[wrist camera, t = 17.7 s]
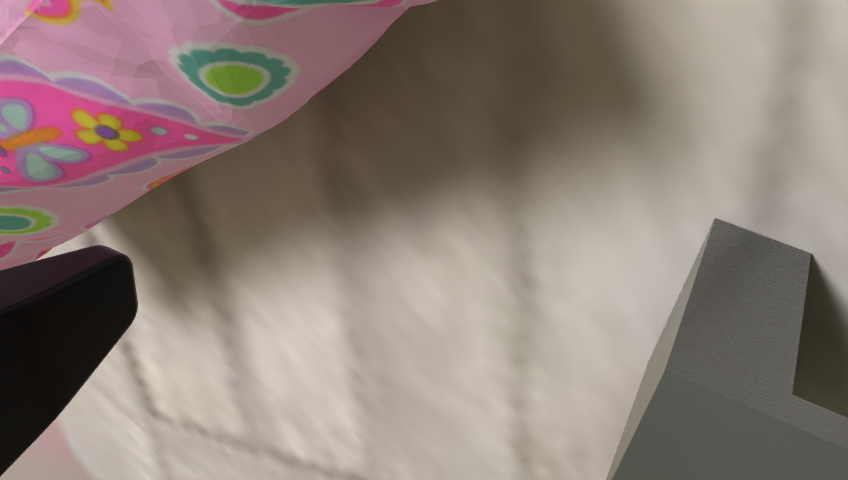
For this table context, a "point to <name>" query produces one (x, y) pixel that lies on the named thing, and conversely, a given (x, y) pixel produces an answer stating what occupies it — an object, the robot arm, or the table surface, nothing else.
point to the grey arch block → (732, 376)
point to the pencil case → (150, 95)
